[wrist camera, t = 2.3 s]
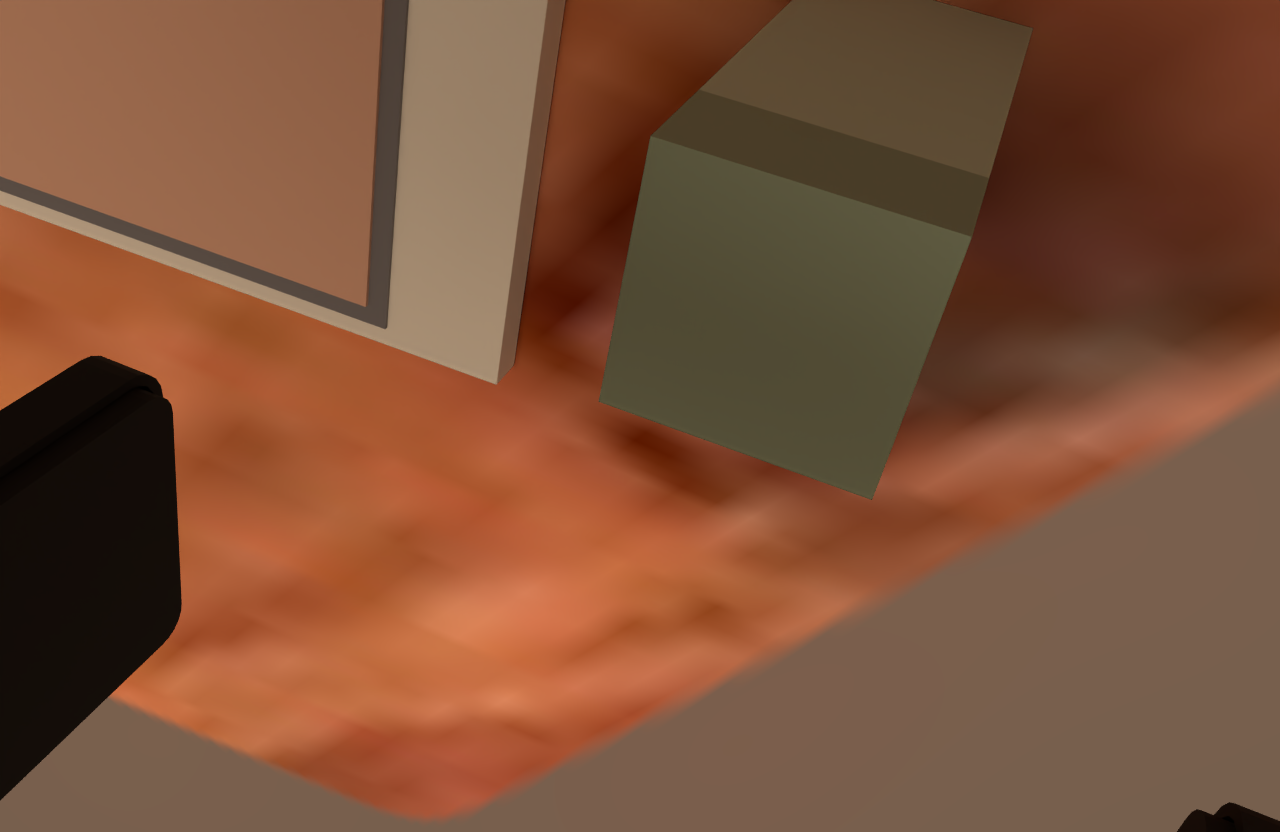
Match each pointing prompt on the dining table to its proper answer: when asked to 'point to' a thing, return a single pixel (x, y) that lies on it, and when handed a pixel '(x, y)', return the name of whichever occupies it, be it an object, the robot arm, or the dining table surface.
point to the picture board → (297, 151)
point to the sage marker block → (811, 231)
